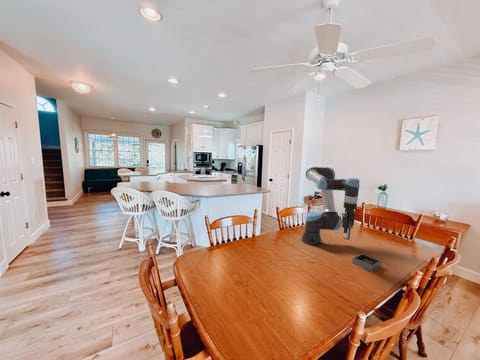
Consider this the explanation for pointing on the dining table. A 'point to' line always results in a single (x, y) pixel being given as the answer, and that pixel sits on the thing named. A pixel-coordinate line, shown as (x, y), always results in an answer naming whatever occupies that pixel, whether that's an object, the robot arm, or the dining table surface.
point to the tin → (367, 262)
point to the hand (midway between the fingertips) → (346, 237)
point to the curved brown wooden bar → (349, 231)
